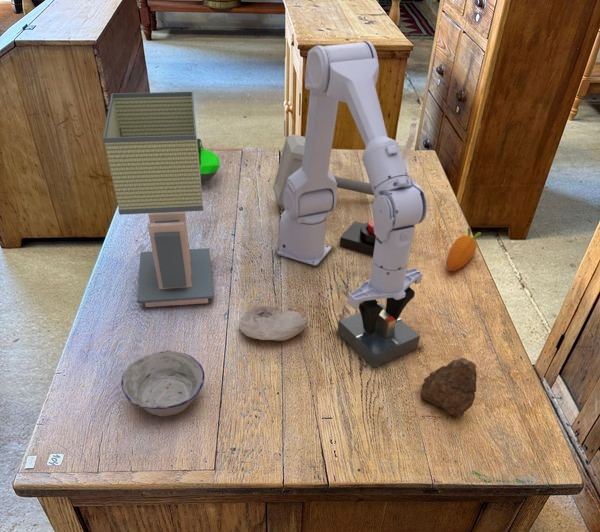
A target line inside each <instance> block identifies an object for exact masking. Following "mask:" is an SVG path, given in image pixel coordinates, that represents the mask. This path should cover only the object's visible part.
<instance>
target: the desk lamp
mask: <svg viewBox="0 0 600 532" xmlns="http://www.w3.org/2000/svg"><path fill="white" fill-rule="evenodd" d="M197 134H198V133H197V125H196V114H195V103H194V91H166V92H165V91H161V92H159V91H158V92H120V93H119V92H118V93H117V92H116V93H113V92H112V93H111V94H110V101H109V105H108V110H107V116H106V121H105V125H104V131H103V135H102V141H103V143H104V147H105V152H106V156H107V161H108V167H109V170H110V175H111V179H112V184H113V189H114V193H115V198H116V203H117V207H118V210H117V211H118V214H119V215H121V216H122V215H142V214H148V220H149V223H148V224H147V228H148V234H149V239H150V240H149V241H150V245H151V251H140V252H139V253H140V257H139V267H138V268H139V271H138V283H137V298H136V300H137V304H144V306H145V308H154V307H157V308H158V307H168V306H171V307H172V306H185V305H200V304H209V299H214V298H215V297H214V287H213V285H214V284H213V275H212V262H211V251H210V248H209V247H205V248H190V243H189V242H190V241H189V235H188V234H189V233H188V226H187V218H186V213H187V212H204V203H203V187H202V186H203V185H202V184H201V173H200V160H199V154H198V144H197V139H198V136H197Z"/></svg>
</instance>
